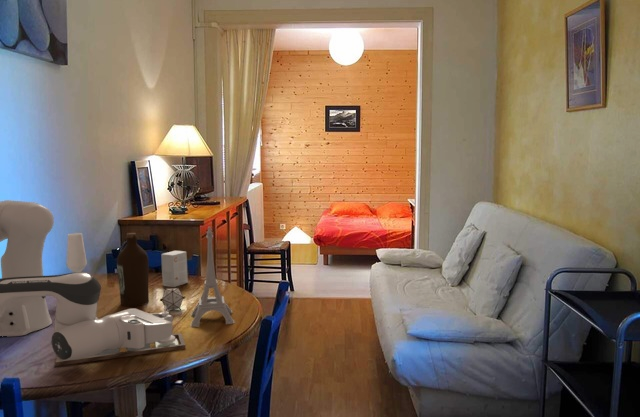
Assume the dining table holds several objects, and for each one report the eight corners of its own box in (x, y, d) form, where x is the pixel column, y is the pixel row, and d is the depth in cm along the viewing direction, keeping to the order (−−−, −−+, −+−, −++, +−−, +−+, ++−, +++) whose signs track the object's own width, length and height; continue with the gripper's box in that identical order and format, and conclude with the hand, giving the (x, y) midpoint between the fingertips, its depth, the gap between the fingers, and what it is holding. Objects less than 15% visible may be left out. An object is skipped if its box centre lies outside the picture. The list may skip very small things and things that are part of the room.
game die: (176, 321, 177) (176, 304, 171) (154, 312, 179) (153, 294, 172) (190, 303, 184) (190, 285, 177) (169, 293, 185) (168, 275, 179)
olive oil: (147, 297, 194) (144, 230, 192) (152, 304, 185) (149, 234, 182) (117, 301, 189) (113, 232, 187) (121, 308, 180) (117, 236, 177)
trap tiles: (94, 358, 137) (94, 357, 137) (95, 349, 144) (95, 348, 144) (150, 351, 142) (150, 350, 142) (149, 342, 149) (149, 341, 149)
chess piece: (177, 337, 149) (176, 303, 148) (173, 343, 145) (171, 308, 143) (159, 337, 149) (158, 303, 148) (155, 344, 144) (153, 308, 143)
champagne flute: (88, 300, 191) (84, 234, 188) (68, 302, 188) (63, 236, 186) (89, 295, 197) (85, 232, 194) (69, 297, 195) (65, 233, 192)
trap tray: (55, 366, 133) (55, 362, 133) (59, 351, 142) (59, 348, 142) (185, 348, 144) (185, 344, 144) (181, 336, 153) (181, 333, 153)
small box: (176, 281, 217) (175, 250, 216) (188, 282, 214) (187, 251, 213) (162, 285, 210) (160, 253, 209) (174, 287, 207) (172, 255, 206)
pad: (156, 350, 143) (156, 349, 143) (154, 341, 149) (154, 340, 149) (179, 347, 145) (179, 346, 145) (176, 338, 151) (176, 338, 151)
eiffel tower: (191, 314, 174) (187, 224, 171) (231, 311, 177) (229, 223, 174) (190, 327, 161) (187, 231, 158) (234, 324, 164) (231, 229, 161)
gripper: (103, 332, 144) (149, 319, 154) (142, 350, 130) (189, 335, 140) (102, 309, 143) (148, 298, 153) (141, 326, 129) (189, 312, 140)
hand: (168, 316), depth 147 cm, fingers closed on chess piece
